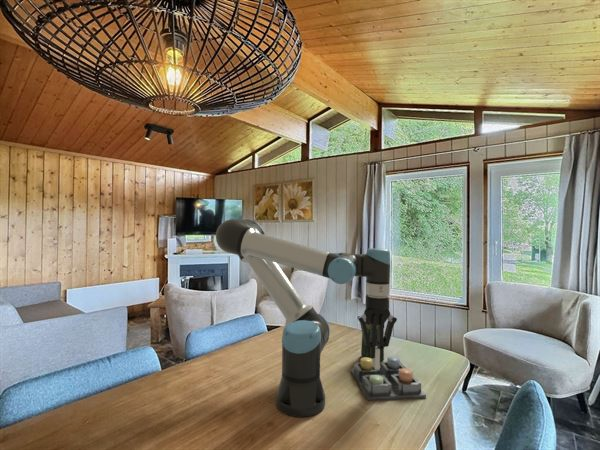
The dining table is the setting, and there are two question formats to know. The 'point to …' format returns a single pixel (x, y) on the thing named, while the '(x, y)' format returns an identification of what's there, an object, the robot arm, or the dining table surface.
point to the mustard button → (366, 363)
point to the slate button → (393, 362)
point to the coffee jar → (364, 349)
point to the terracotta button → (405, 375)
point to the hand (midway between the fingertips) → (375, 367)
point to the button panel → (386, 384)
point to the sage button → (376, 379)
